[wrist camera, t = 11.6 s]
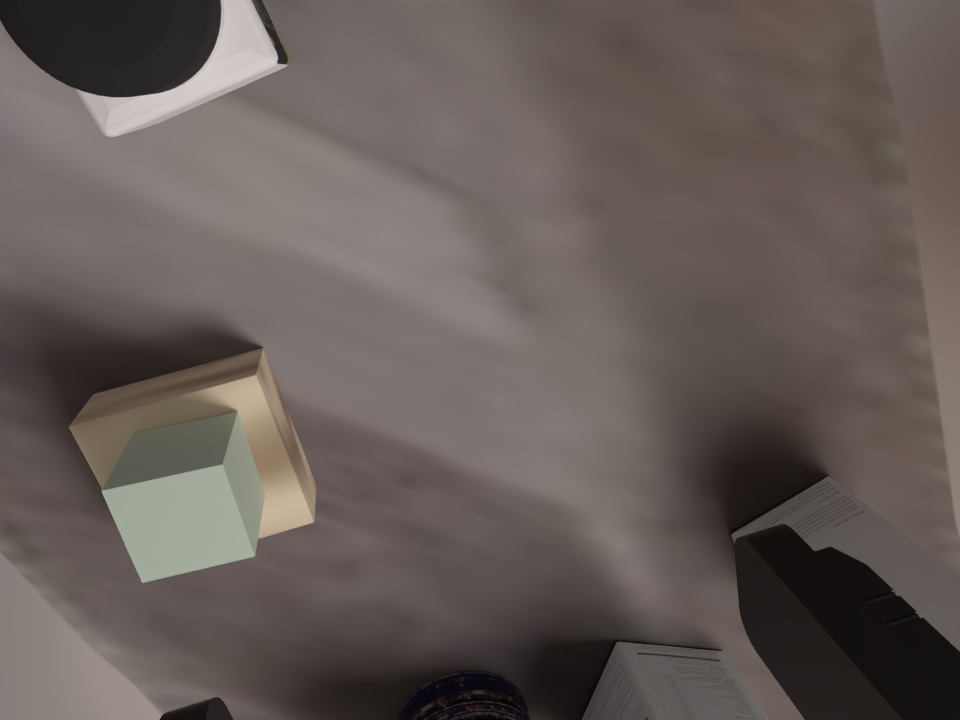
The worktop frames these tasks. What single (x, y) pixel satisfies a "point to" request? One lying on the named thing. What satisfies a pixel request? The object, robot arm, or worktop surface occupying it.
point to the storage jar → (466, 699)
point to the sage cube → (187, 497)
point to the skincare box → (871, 549)
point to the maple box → (202, 396)
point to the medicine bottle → (146, 52)
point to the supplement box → (670, 686)
